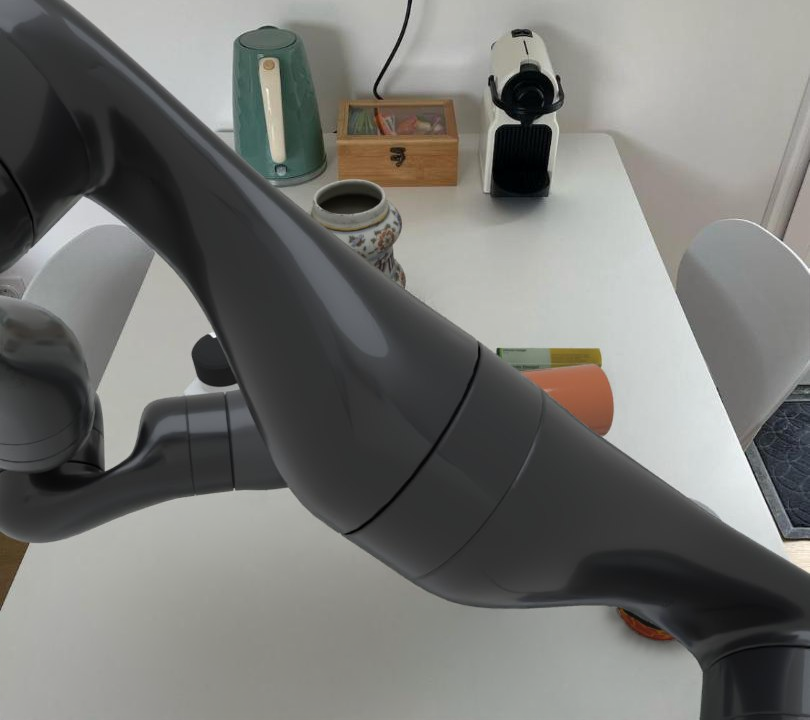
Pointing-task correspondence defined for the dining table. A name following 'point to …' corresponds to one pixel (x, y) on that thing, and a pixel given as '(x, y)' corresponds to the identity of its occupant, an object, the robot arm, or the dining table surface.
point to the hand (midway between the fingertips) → (511, 409)
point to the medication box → (549, 357)
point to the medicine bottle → (210, 368)
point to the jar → (579, 393)
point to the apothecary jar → (362, 221)
